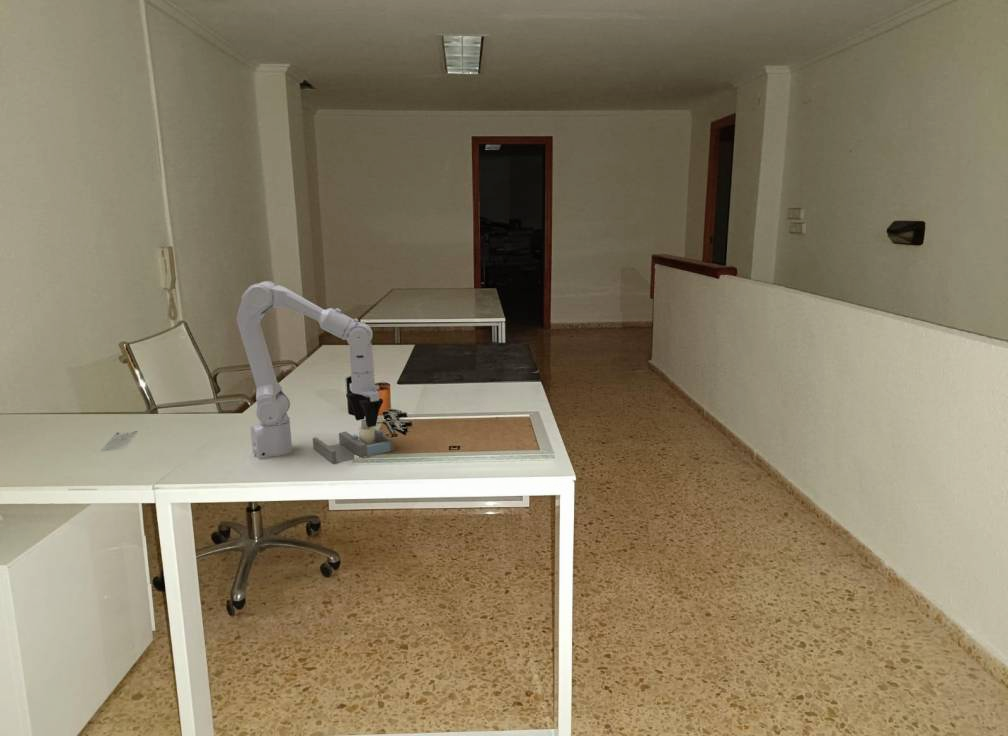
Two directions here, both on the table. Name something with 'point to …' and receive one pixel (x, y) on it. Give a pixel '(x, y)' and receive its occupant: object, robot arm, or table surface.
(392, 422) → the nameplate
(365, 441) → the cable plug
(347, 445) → the grey walled tray piece
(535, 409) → the table surface
